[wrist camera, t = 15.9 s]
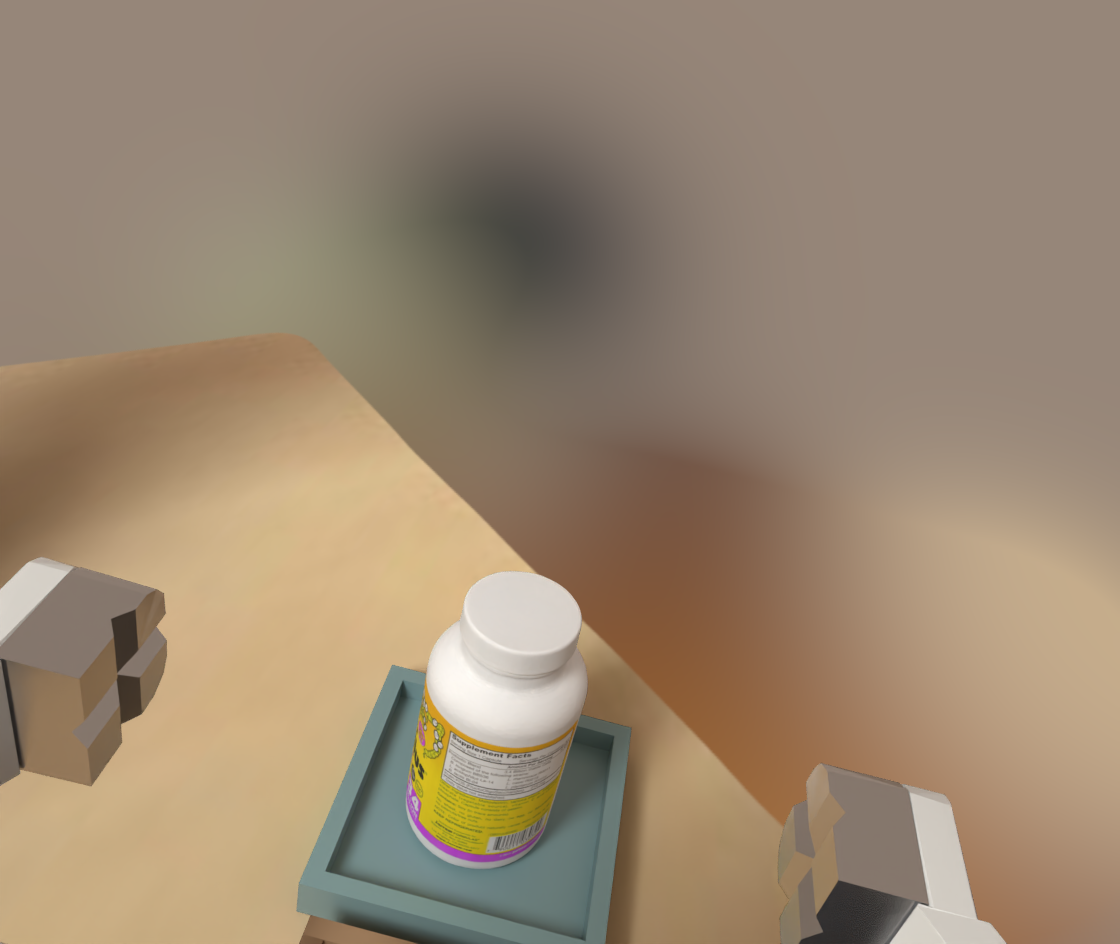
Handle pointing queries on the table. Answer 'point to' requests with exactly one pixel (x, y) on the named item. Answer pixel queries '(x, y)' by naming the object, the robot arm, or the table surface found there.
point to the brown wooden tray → (342, 934)
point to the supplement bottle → (497, 721)
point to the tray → (453, 891)
